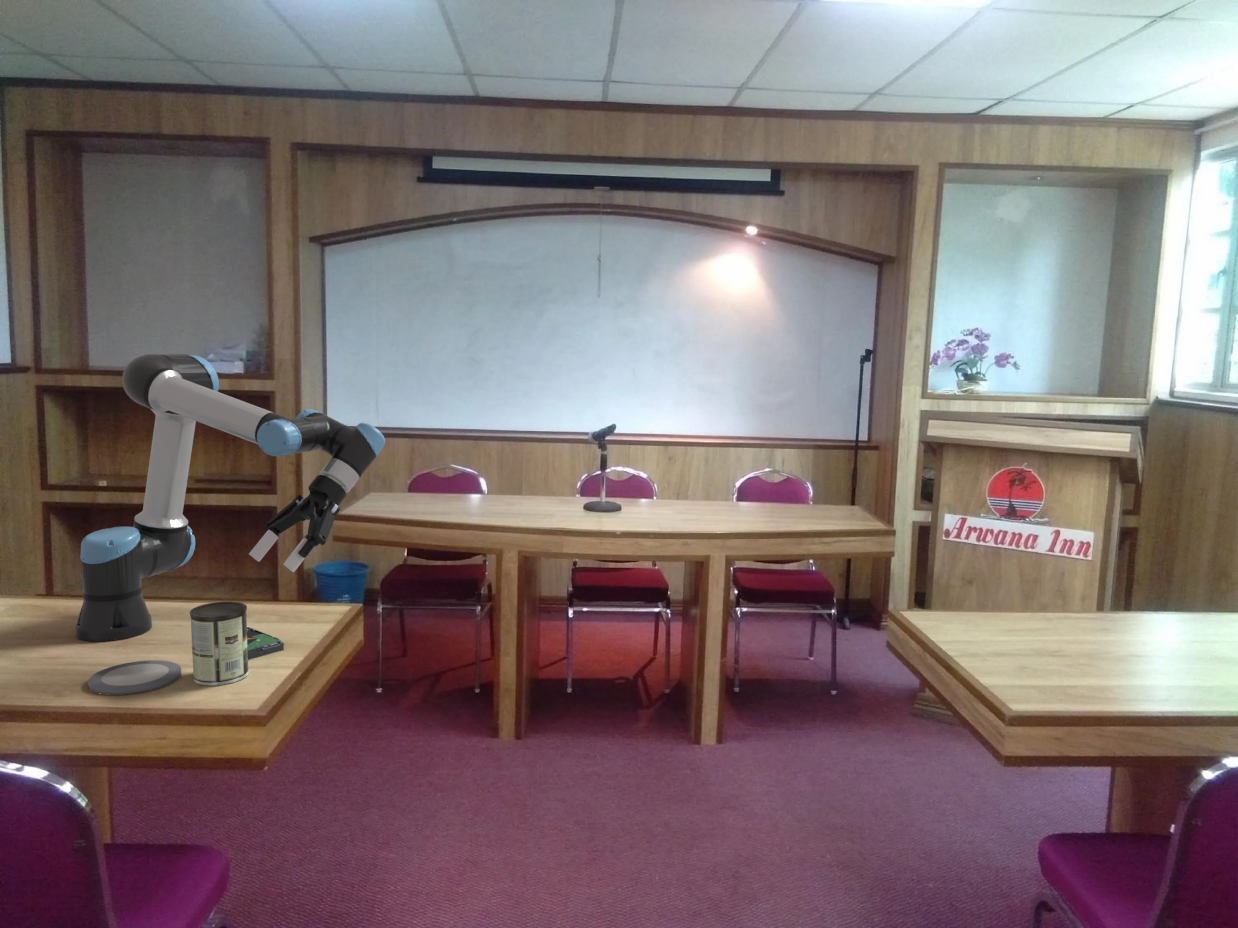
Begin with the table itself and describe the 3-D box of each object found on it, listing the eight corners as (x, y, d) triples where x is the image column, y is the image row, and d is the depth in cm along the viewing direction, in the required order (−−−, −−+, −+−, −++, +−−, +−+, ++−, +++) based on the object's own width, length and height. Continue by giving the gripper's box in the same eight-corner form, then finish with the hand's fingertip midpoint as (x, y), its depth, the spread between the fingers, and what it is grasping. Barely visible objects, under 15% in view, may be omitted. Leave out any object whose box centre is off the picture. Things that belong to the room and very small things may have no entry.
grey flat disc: (67, 691, 161) (67, 685, 161) (128, 662, 177) (128, 657, 177) (144, 698, 159) (143, 692, 159) (198, 668, 175) (198, 663, 174)
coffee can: (216, 665, 177) (213, 599, 175) (259, 670, 174) (257, 603, 173) (180, 682, 167) (177, 613, 165) (225, 688, 164) (223, 618, 163)
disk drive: (204, 649, 187) (240, 664, 179) (203, 637, 187) (240, 651, 178) (248, 638, 196) (285, 651, 187) (248, 626, 195) (285, 639, 187)
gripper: (377, 500, 180) (316, 583, 171) (312, 488, 196) (252, 563, 186) (355, 478, 176) (291, 562, 166) (290, 468, 191) (228, 543, 181)
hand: (270, 563), depth 176 cm, fingers open, 13 cm apart
